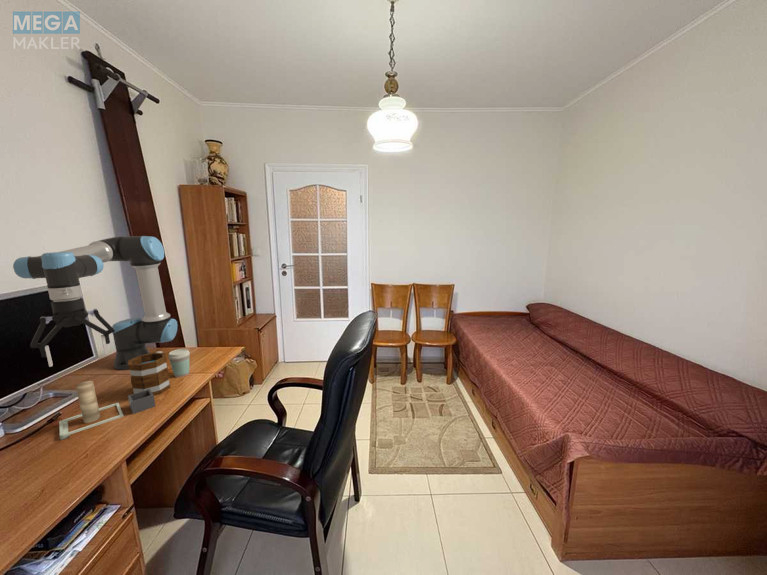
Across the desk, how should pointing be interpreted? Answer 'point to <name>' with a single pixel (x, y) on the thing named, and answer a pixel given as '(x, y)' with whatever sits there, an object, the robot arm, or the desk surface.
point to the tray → (65, 432)
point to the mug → (149, 373)
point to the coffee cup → (179, 362)
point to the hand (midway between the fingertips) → (79, 358)
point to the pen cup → (141, 401)
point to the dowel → (88, 401)
